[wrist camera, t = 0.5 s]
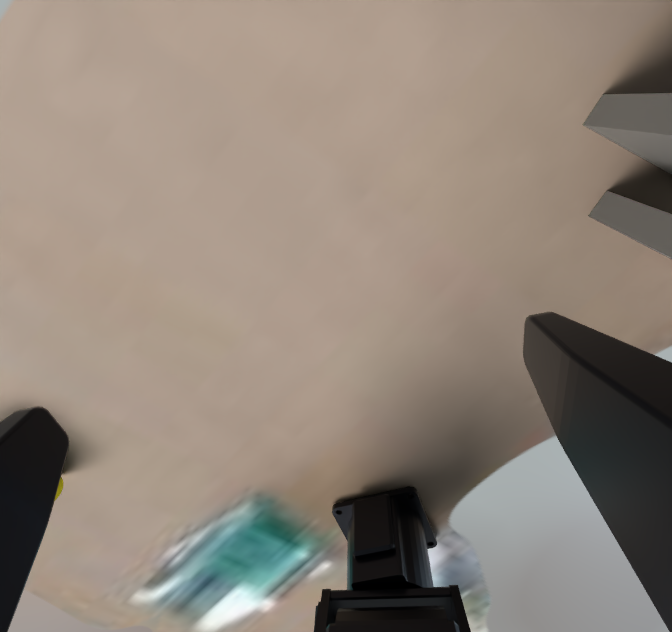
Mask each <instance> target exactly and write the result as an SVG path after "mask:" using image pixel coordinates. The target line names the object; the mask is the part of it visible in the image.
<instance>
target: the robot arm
mask: <svg viewBox="0 0 672 632" xmlns="http://www.w3.org/2000/svg"><path fill="white" fill-rule="evenodd" d="M523 357H524V362H525V365H526V367H527V370H528V372H529V374H530V376H531V379H532V381H533V383H534V386H535V388H536V390H537V393H538V395H539V397H540V399H541V402H542V404H543V406H544V409H545V411H546V413H547V416H548V418H549V420H550V422H551V425H552V427H553V429H554V431H555V433H556V436H557V438H558V440H559V442H560V444H561V445H562V447H563V449H564V451H565V453H566V454H567V456H568V458H569V459H570V461H571V463H572V465H573V466H574V468H575V470H576V471H577V473H578V475H579V477H580V478H581V480H582V482H583V484H584V485H585V487H586V489H587V490H588V492H589V494H590V496H591V497H592V499H593V501H594V503H595V504H596V506H597V508H598V509H599V511H600V513H601V515H602V516H603V518H604V520H605V521H606V523H607V525H608V527H609V528H610V530H611V532H612V533H613V535H614V537H615V539H616V540H617V542H618V544H619V545H620V547H621V549H622V551H623V552H624V554H625V556H626V557H627V559H628V561H629V563H630V564H631V566H632V568H633V570H634V571H635V573H636V575H637V576H638V578H639V580H640V581H641V583H642V585H643V587H644V588H645V590H646V592H647V594H648V595H649V597H650V599H651V600H652V602H653V604H654V606H655V607H656V609H657V611H658V612H659V614H660V616H661V618H662V619H663V621H664V623H665V624H666V626H667V628H668V630H669V631H670V632H672V363H671V362H669V361H666V360H664V359H662V358H660V357H657V356H655V355H653V354H650V353H648V352H646V351H643V350H641V349H639V348H636V347H634V346H631V345H629V344H627V343H624V342H622V341H620V340H617V339H615V338H613V337H610V336H608V335H606V334H603V333H601V332H599V331H596V330H594V329H592V328H589V327H587V326H585V325H582V324H580V323H577V322H575V321H573V320H570V319H568V318H566V317H563V316H561V315H559V314H556V313H554V312H545V313H539V314H534V315H530V316H528V317H527V318H526V321H525V328H524V345H523ZM68 448H69V438H68V435H67V434H66V432H65V431H64V430H63V428H62V427H61V426H60V425H59V423H58V422H57V421H56V420H55V419H54V417H53V416H52V415H51V414H50V412H49V411H48V410H47V409H45V408H43V407H32V408H27V409H22V410H19V411H16V412H15V413H13V414H12V415H10V416H9V417H7V418H6V419H4V420H3V421H1V422H0V632H8V629H9V627H10V624H11V621H12V619H13V616H14V613H15V611H16V608H17V605H18V603H19V600H20V597H21V595H22V592H23V589H24V587H25V584H26V581H27V579H28V576H29V573H30V571H31V568H32V565H33V563H34V560H35V557H36V555H37V552H38V549H39V547H40V544H41V541H42V539H43V536H44V533H45V530H46V527H47V524H48V521H49V518H50V514H51V511H52V507H53V504H54V500H55V496H56V493H57V489H58V485H59V482H60V478H61V474H62V471H63V467H64V463H65V459H66V456H67V452H68ZM332 513H333V515H334V517H335V519H336V521H337V523H338V524H339V526H340V528H341V530H342V532H343V534H344V536H345V537H346V539H347V541H348V556H347V590H331V589H323V590H322V597H321V602H319V603H318V606H316V613H315V626H314V632H471V631H470V628H469V624H468V620H467V617H466V613H465V610H464V606H463V602H462V599H461V595H460V591H459V588H458V585H449V587H433V581H432V575H431V569H430V562H429V556H428V550H427V549H429V548H433V547H435V546H436V545H437V541H436V537H435V534H434V532H433V529H432V527H431V524H430V522H429V519H428V517H427V514H426V512H425V510H424V507H423V505H422V502H421V500H420V497H419V495H418V492H417V490H416V489H415V488H413V487H407V488H402V489H398V490H394V491H389V492H385V493H380V494H376V495H371V496H367V497H363V498H358V499H354V500H349V501H345V502H341V503H336V504H334V505H333V507H332Z"/></svg>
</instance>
